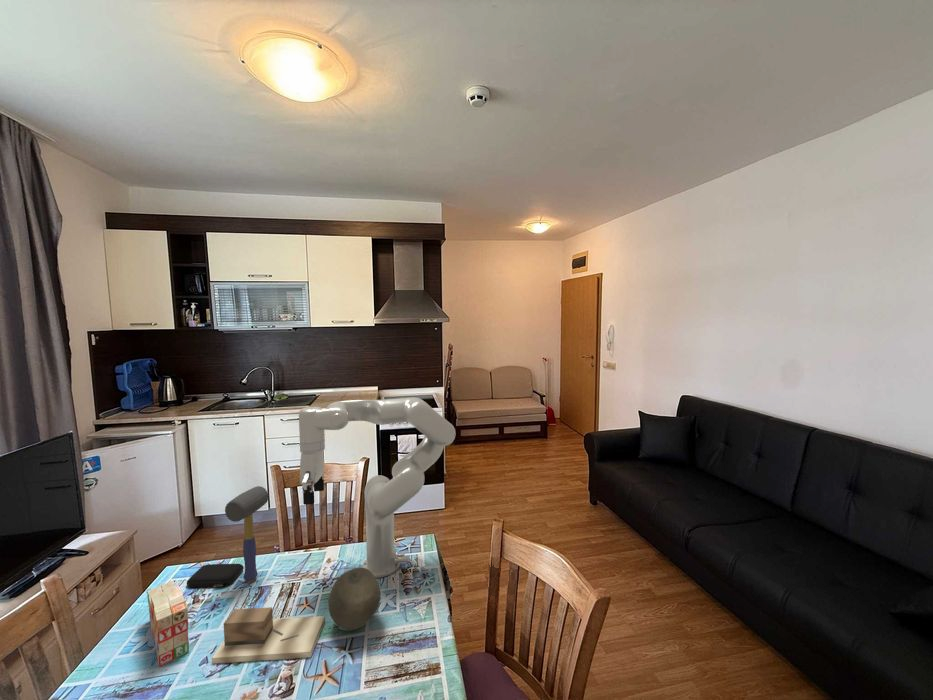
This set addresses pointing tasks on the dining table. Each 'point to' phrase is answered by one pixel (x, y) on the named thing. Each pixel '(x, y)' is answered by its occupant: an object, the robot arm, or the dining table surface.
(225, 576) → the carrying case or bag
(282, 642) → the birch board
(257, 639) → the sanding block
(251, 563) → the rubber mallet
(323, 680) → the dining table surface
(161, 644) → the stack of blocks
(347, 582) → the cantaloupe
